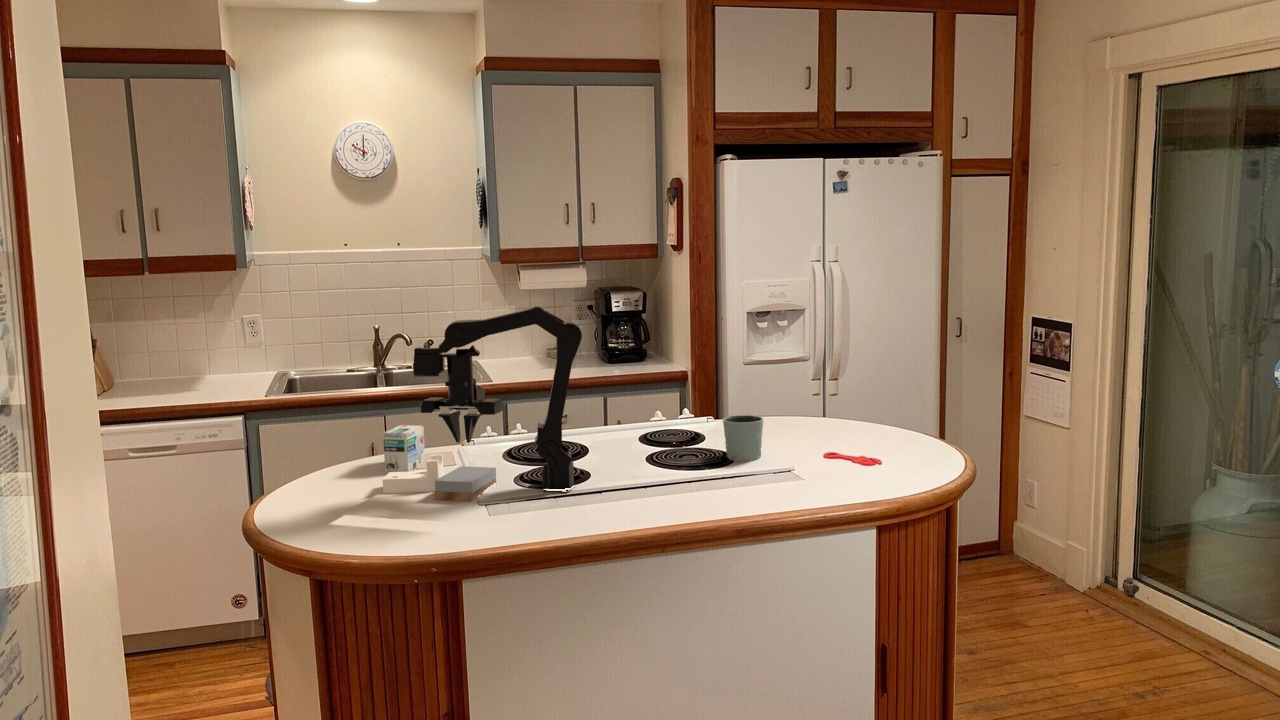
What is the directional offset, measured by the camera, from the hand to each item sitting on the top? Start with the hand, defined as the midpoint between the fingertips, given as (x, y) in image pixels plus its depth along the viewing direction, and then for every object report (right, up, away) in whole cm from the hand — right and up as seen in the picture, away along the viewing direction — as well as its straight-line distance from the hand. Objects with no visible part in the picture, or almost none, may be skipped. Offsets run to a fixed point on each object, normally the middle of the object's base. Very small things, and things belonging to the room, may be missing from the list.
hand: (463, 442), depth 226 cm
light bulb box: (-20, -9, +26) cm, 34 cm away
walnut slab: (0, -12, +1) cm, 13 cm away
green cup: (+67, -8, +24) cm, 72 cm away
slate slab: (0, -10, +1) cm, 10 cm away
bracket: (-13, -12, +7) cm, 19 cm away
